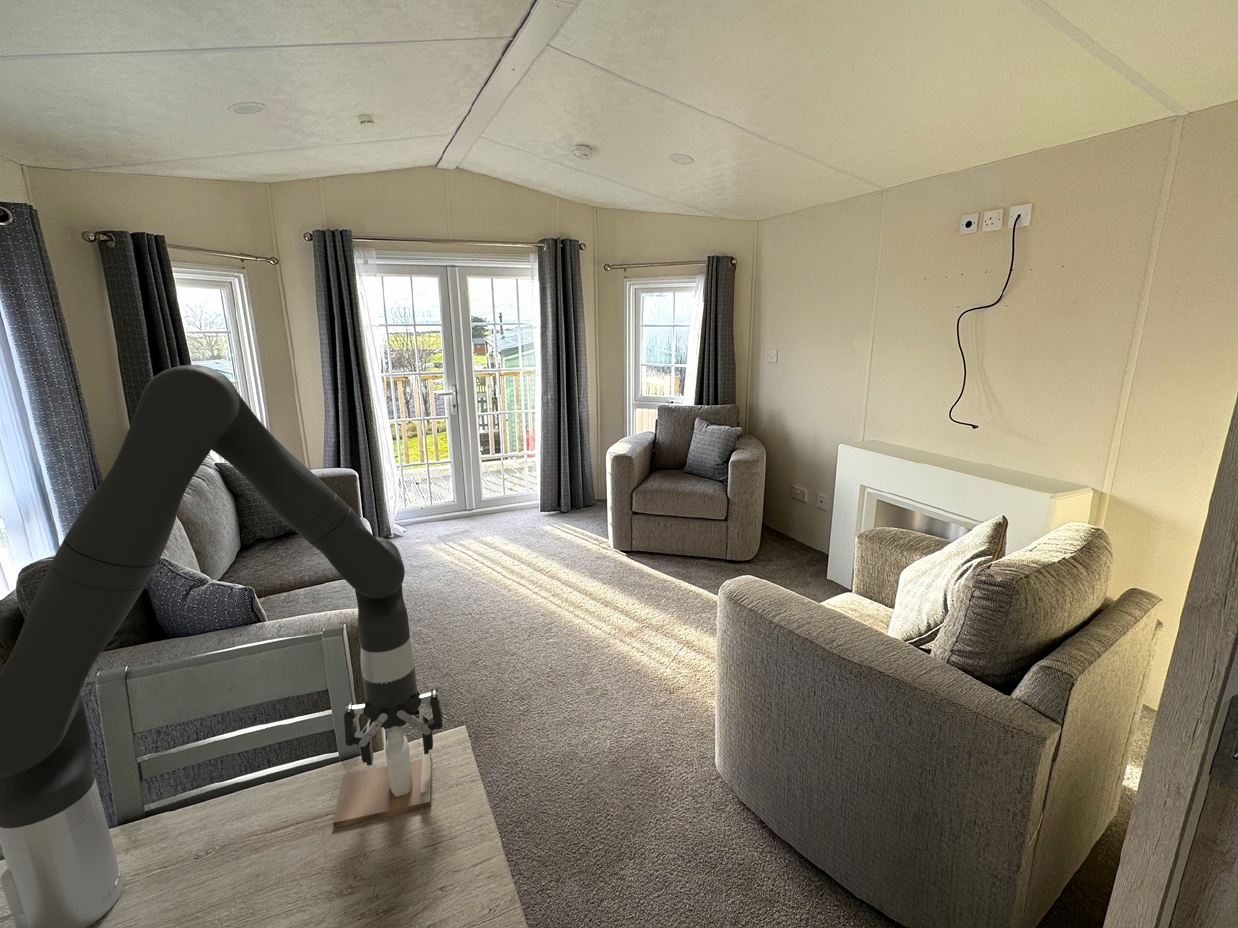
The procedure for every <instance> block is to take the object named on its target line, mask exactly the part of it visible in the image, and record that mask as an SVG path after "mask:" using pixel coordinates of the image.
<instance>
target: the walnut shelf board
mask: <svg viewBox="0 0 1238 928" xmlns="http://www.w3.org/2000/svg"><path fill="white" fill-rule="evenodd" d="M431 751H432V750H429V754H425V755H424V748H422V758H421V759H416V760H410V763H411V772H412V788H411V791H410V792H409V793H408V794H405V795H402V796H399V797H396V796H394V795H393V793H392V792H391V789H390V784H389V775H388V767H387V765H386V766H385V765H384V766H381V767H376V768H371V769H366V770H365V769H364V770H359V771H355V772H349V773H345V774H343V775H342V780H341V785H340V790H339V794H338V796H337V797H338V798H337V801H336V803H337V804H336V807H335V811H334V816H333V821H332V826H333V829H336V828H340V827H342V828H343V827H346V826H350V825H355V824H360V823H363V822H368V821H373V820H377V819H382V818H387V817H391V816H392V817H393V816H395V815H396V816H397V815H401V814H404V813H405V814H407V813H409V812H414V811H418V810H424V809H427V808H431V807H432V789H433V788H432V783H433V782H432V780H433V757H432V752H431Z"/></svg>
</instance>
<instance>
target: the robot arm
mask: <svg viewBox="0 0 1238 928" xmlns="http://www.w3.org/2000/svg"><path fill="white" fill-rule="evenodd" d="M135 409H136V410H135V412H134V414H133V418H132V420H131V424H130V425H129V429H128V430H127V433H126V435H125V437H124V440H123V443H122V445H121V447H120V450H119V452H118V454H117V457H116V458H115V461H114V462H113V464H112V466H111V468H110V469H109V471H108V472H107V474H106V476H105V477H104V478H103V479H102V481H101V482H100V484H99V485H98V487H97V488H96V489H95V491H94V492H93V493H92V494H91V496H89V499H88V500H87V502H86V503H85V505H84V506H83V508H82V510H81V511H80V512H79V514H78V516H77V517H76V519H75V520H74V522H73V524H72V526H71V527H70V529H69V530H68V532H67V533H66V535H65V537H64V538H63V540H62V542H61V544H60V546H59V548H58V549H57V551H56V553H55V555H54V557H53V558H52V560H51V562H50V564H49V566H48V569H47V570H46V572H45V575H44V577H43V579H42V581H41V583H40V584H39V587H38V589H37V590H36V591H37V592H36V594H35V596H34V599H33V600H32V603H31V605H30V608H29V610H28V612H27V615H26V617H25V620H24V622H23V625H22V627H21V630H20V632H19V635H18V637H17V640H16V642H15V645H14V646H13V649H12V651H11V653H10V654H9V657H8V659H7V660H6V662H5V663H4V665H3V667H2V669H0V847H1V848H0V849H1V851H2V854H3V857H4V861H5V864H6V867H7V868H6V869H5V870H4V872H3V873H2V874H1V876H0V884H1V886H2V890H3V893H4V896H5V899H6V902H7V905H8V908H9V912H10V915H11V917H12V921H13V924H14V927H15V928H89V927H90V926H92V925H93V924H94V923H95V922H97V921H98V920H100V919H101V918H102V917H104V916H105V915H106V914H107V913H108V912H109V910H110V909H111V908H112V907H113V906H114V905H115V904H116V903H117V901H118V900H119V898H120V896H121V895H122V891H123V887H124V883H123V879H122V876H121V875H122V873H121V870H120V867H119V863H118V860H117V855H116V852H115V848H114V844H113V840H112V837H111V833H110V828H109V824H108V821H107V816H106V814H105V810H104V806H103V802H102V799H101V795H100V791H99V788H98V783H97V780H96V776H95V772H94V767H93V756H94V755H93V754H94V749H93V739H92V735H91V731H90V726H89V720H88V717H87V712H86V707H85V703H84V700H83V696H82V693H81V689H82V687H83V685H84V683H85V680H86V679H87V677H88V674H89V673H90V672H91V669H92V668H93V666H94V665H95V663H96V661H97V659H98V658H99V656H100V655H101V653H102V652H103V651H104V650H105V647H106V646H107V645H108V643H109V642H110V641H111V639H112V638H113V636H114V635H115V634H116V632H117V631H118V629H119V628H120V627H121V625H122V623H123V622H124V620H125V619H126V617H127V616H128V614H129V613H130V611H131V610H132V608H133V607H134V605H135V604H136V602H137V600H138V599H139V597H140V595H141V594H142V593H143V591H144V589H145V587H146V585H147V584H148V581H149V580H150V578H151V576H152V574H153V573H154V571H155V569H156V567H157V565H158V564H159V562H160V560H161V557H162V555H163V553H164V552H165V551H164V550H166V546H167V544H168V542H169V539H170V537H171V534H172V531H173V529H174V527H175V522H176V520H177V516H178V513H179V510H180V506H181V503H182V500H183V498H184V494H185V493H186V490H187V488H188V486H189V484H190V483H191V482H192V480H193V477H194V476H195V474H196V473H197V472H198V470H199V469H200V468H201V465H203V463H204V461H205V460H206V458H207V457H208V455H209V454H210V453H211V451H212V452H214V453H215V454H216V455H218V456H220V457H221V458H222V459H224V460H225V461H226V462H227V463H228V464H230V465H231V466H232V467H233V468H235V470H236V471H238V472H239V474H240V475H241V476H243V477H244V478H245V479H246V481H248V483H249V484H251V486H252V487H253V488H254V490H255V491H256V492H258V494H259V495H260V496H261V497H262V499H264V501H265V502H266V503H267V504H268V505H269V507H270V508H271V509H272V510H273V511H274V512H275V513H276V514H277V516H278V517H279V518H280V519H282V520H283V522H284V523H286V524H287V525H288V526H289V527H290V528H291V529H292V530H294V531H295V532H296V533H297V534H299V536H300V537H302V539H304V540H305V541H306V542H307V543H309V544H310V545H311V546H312V547H314V548H315V549H317V550H318V552H320V553H321V554H322V555H323V556H324V557H325V558H326V559H327V561H328V562H329V563H330V565H332V567H333V568H334V569H335V570H336V571H337V572H338V574H339V575H340V576H341V577H342V578H343V579H344V580H345V581H346V583H348V584H349V586H351V587H352V589H354V592H355V596H356V597H355V599H356V602H357V626H358V627H357V628H358V636H359V644H360V672H361V675H362V683H363V690H364V698H365V702H364V703H362V704H355V702H353V701H350V702H348V703H346V707H345V710H344V714H343V719H344V720H343V722H344V737H345V745H346V746H348V747H349V746H350V747H351V746H353V745H357V746H359V748H360V757H361V761H362V763H363V764H365V763H366V766H368V767H369V766H372V765H373V761H374V751H373V750H374V749H373V742H372V738H373V737H375V735H376V734H377V732H379V730H380V728H383V730H387V729H389V728H391V727H394V726H403V727H405V726H406V724H408V726H411V727H412V728H413V729H414V730H416V729H417V730H418V731H419V732H421V733H422V743H423V744H422V745H423V749H424V755H425V754H429V750H431V751H432V750H433V748H434V736H433V732H434V731H435V730H441V729H442V728H443V727H444V726H443V723H444V722H443V721H444V720H443V719H444V716H443V710H442V704H441V697H440V692H439V689H438V688H436V687H433V688H431V690H430V692H426V693H422V694H421V693H420V692H419V691H418V685H417V678H416V677H417V675H416V664H415V656H414V655H415V654H414V653H415V652H414V647H413V644H412V639H411V635H410V622H409V614H408V610H407V606H406V603H405V600H404V594H403V582H404V579H405V575H406V574H405V572H406V571H405V570H406V569H405V565H404V562H403V559H402V555H401V553H400V551H399V548H398V547H397V546H396V545H395V544H394V543H393V542H392V541H391V540H389V539H387V538H384V537H379V536H374V535H373V533H371V532H370V531H369V530H368V529H367V528H366V526H365V525H364V523H363V521H362V519H361V518H360V516H359V515H358V513H356V511H355V510H354V509H353V508H351V506H350V505H348V503H346V502H345V500H343V499H342V498H341V497H340V496H339V495H338V494H337V493H336V492H334V490H332V489H331V487H329V486H328V485H327V484H326V483H324V481H322V480H321V479H320V478H319V477H318V476H317V475H316V474H314V473H313V472H312V471H311V470H310V469H309V467H308V468H307V466H305V465H304V463H302V462H301V461H300V460H298V459H297V457H295V456H294V455H293V453H291V452H290V451H289V450H288V449H287V448H286V447H285V446H284V445H283V444H282V443H281V442H280V441H279V440H278V439H277V438H276V437H275V436H274V435H273V434H272V433H271V431H270V430H269V429H268V428H267V427H266V426H265V425H264V424H263V423H262V421H261V420H260V419H259V418H258V417H257V416H256V415H255V413H254V412H253V411H252V409H251V408H250V407H249V405H248V404H247V402H245V400H244V399H243V397H242V396H241V395H240V393H239V392H238V390H237V388H236V387H235V385H234V383H232V381H231V380H230V379H229V378H228V377H227V376H226V375H224V374H223V373H221V372H220V371H218V370H216V369H214V368H212V367H209V366H204V365H200V364H185V365H178V366H174V367H170V368H167V369H165V370H163V371H161V372H159V373H157V374H156V375H155V376H154V377H152V378H151V379H150V380H149V381H148V383H147V384H146V385H145V387H144V389H143V391H142V393H141V396H140V398H139V401H138V404H137V407H136V408H135ZM421 704H425V706H426V707H427V708H428V709H431V714H432V717H431V718H430V717H428V716H427V715H426V714H424V712H423V710H422V709H421V708H420V706H421ZM362 714H364V716H366V718H368V721H367V723H366V725H365V726H364V727H363V729H362V731H358V730H357V721H358V720H359V719H360V715H362Z"/></svg>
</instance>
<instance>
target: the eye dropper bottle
mask: <svg viewBox="0 0 1238 928" xmlns="http://www.w3.org/2000/svg"><path fill="white" fill-rule="evenodd" d="M386 735H387V740H386V741H385V748H384V749H385V758H386V766H387V767H388V775H389V784H390V789H391V792H392V793H393V795H394V796H396V797H399V796H402V795H405V794H408V793H409V792H410V791H411V788H412V772H411V763H410V761H411V754H410V748H409V747H410V746H409V740H408V738H407V736H405V732H404V726H394V727H391V728H389V729H386Z"/></svg>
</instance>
